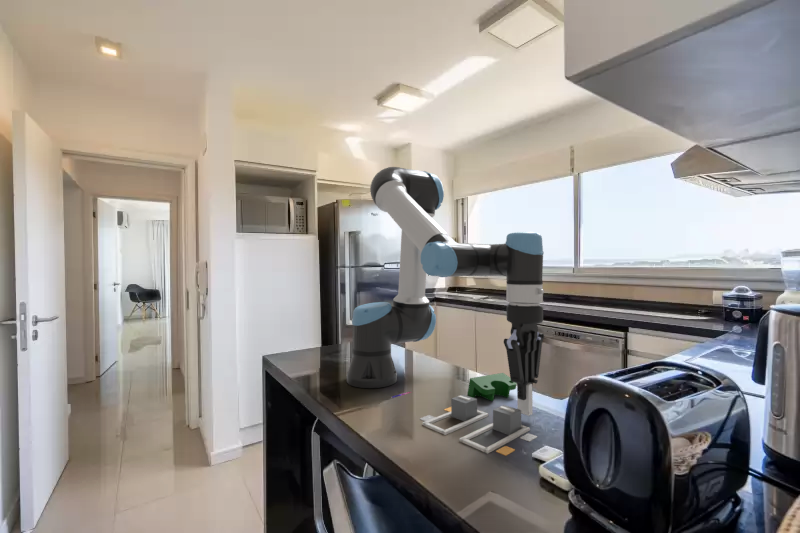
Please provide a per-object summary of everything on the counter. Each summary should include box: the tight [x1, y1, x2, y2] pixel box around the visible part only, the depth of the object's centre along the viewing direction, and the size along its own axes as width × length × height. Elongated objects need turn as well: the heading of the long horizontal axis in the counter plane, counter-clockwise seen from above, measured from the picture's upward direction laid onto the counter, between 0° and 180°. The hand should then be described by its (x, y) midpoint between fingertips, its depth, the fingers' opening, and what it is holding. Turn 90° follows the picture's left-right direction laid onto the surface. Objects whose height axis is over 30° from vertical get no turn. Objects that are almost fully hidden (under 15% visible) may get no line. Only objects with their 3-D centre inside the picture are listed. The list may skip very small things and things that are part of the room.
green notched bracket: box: [467, 372, 517, 402], centre depth 97 cm, size 12×6×9 cm, turn 111°
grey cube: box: [492, 404, 522, 436], centre depth 76 cm, size 4×4×4 cm
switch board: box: [419, 406, 539, 457], centre depth 78 cm, size 24×18×2 cm
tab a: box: [450, 394, 478, 422], centre depth 83 cm, size 4×4×4 cm
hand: (524, 413), depth 81 cm, fingers closed
